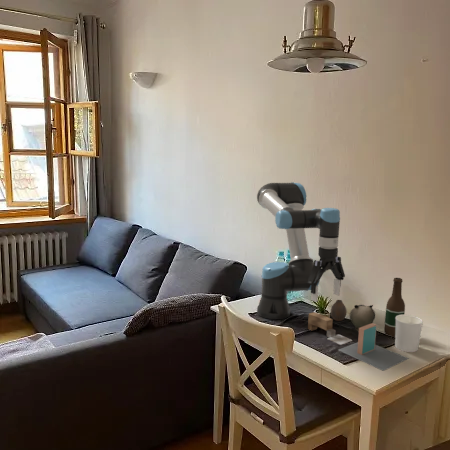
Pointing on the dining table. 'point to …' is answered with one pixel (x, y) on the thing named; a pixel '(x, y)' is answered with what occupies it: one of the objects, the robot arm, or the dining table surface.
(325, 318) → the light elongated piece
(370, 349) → the tan rectangular bar
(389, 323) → the beer bottle
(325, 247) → the robot arm
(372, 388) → the dining table surface
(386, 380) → the dining table surface
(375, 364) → the mat
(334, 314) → the vase
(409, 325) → the white cup
